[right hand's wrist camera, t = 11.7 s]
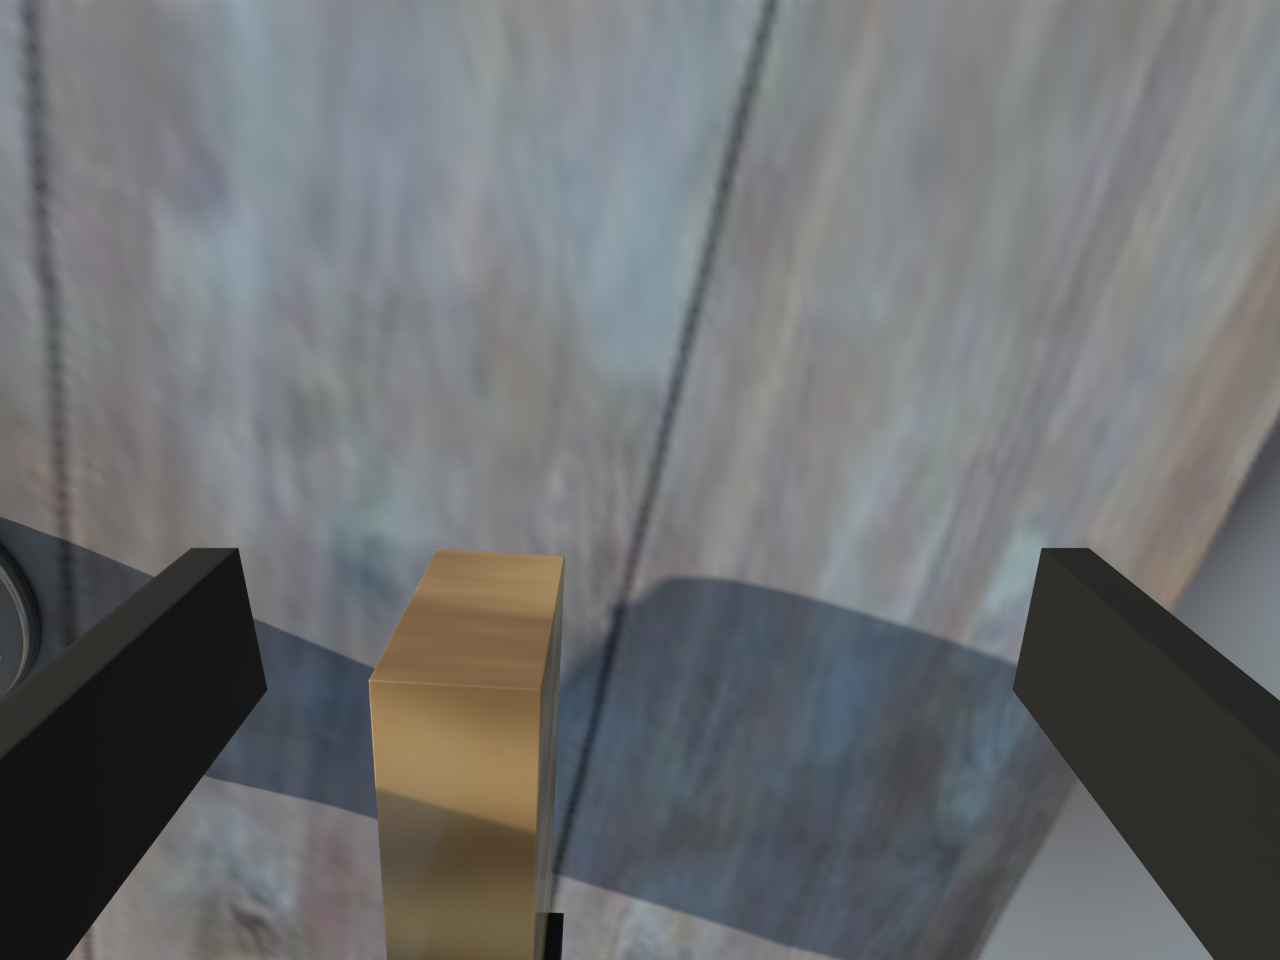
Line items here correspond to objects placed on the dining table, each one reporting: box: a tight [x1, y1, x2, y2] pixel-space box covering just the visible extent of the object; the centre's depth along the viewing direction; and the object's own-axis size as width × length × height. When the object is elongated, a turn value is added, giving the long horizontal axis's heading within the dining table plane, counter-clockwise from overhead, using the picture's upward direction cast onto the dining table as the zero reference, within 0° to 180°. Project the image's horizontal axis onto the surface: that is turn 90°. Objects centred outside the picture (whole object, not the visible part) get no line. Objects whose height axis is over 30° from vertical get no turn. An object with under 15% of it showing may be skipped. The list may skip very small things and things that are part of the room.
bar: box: [369, 549, 565, 960], centre depth 31 cm, size 23×5×8 cm, turn 176°
